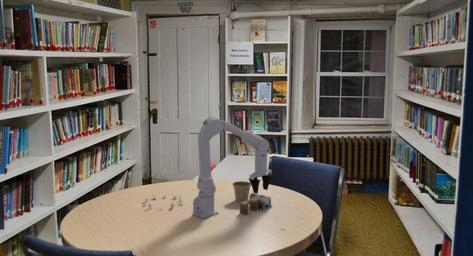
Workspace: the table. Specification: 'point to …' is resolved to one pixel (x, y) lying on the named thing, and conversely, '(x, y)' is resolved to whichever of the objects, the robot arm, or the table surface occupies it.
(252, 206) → the brown wooden u-shaped block
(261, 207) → the v block
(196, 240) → the table surface
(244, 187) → the flower pot
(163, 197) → the game piece set
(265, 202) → the grey metal cylinder
